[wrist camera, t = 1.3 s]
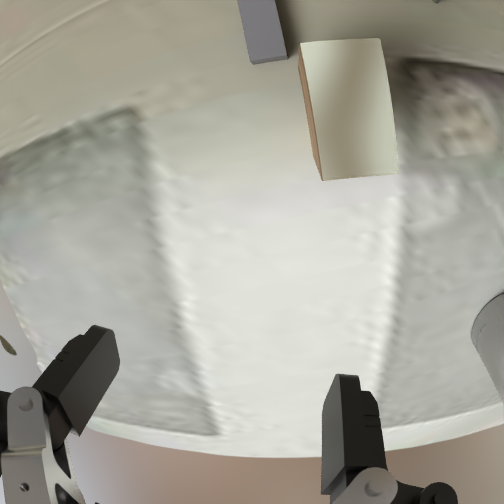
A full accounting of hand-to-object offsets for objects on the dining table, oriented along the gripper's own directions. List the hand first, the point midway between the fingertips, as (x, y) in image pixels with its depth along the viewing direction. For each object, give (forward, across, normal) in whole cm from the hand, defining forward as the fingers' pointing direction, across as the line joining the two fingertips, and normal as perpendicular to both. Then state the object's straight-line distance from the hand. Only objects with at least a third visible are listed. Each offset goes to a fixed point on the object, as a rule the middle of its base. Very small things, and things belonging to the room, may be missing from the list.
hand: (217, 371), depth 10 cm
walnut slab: (+21, -4, -9) cm, 23 cm away
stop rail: (+21, +3, -20) cm, 29 cm away
